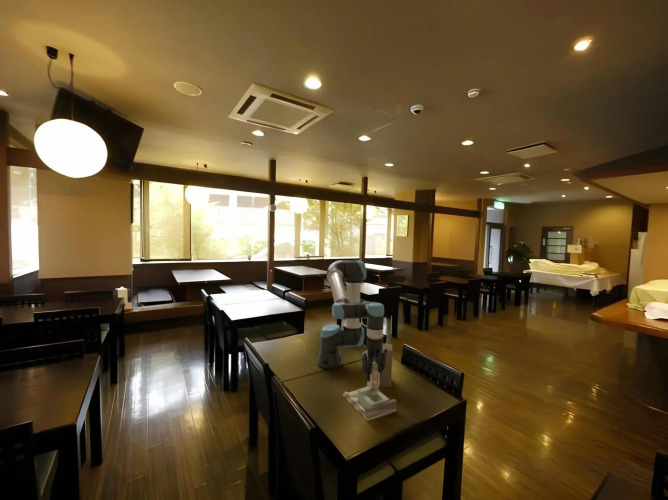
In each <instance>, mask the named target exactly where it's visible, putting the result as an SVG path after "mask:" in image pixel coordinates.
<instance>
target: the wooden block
mask: <svg viewBox="0 0 668 500" xmlns="http://www.w3.org/2000/svg"><path fill="white" fill-rule="evenodd" d="M382 347H384V348H385V349H387V353H386V359H385V369H384V370H382V371H383V372H382V373H381V378H380V380H379V387H384V388H391V387H392V374H393V372H392V371H393V370H392V369H393V344H392V343H384V342H383V346H382ZM380 355H381V353H380ZM373 362H375V357H374V360H373Z"/></svg>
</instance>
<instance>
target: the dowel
mask: <svg viewBox="0 0 668 500" xmlns="http://www.w3.org/2000/svg"><path fill="white" fill-rule="evenodd" d="M371 374H372V389H370V388H369V394H370V395H377V377H378V363H376V362H373V365H372V370H371Z"/></svg>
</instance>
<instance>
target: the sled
mask: <svg viewBox="0 0 668 500" xmlns="http://www.w3.org/2000/svg"><path fill="white" fill-rule="evenodd" d="M357 390H358V400H357V401H358V402H359V403H360V404H361V405H362V406H363V407H364V408H365V409H366V408H367V407H370V406H373V405H377V404H380V403H383V402H386V401H389V400H390V399H389V398H388V396H386V395H385V394H384V393H382V392H381V391H380V390H379V387H378V386H377V395H370V394H369V387H368V386H365V387H362V388H358V389H357Z"/></svg>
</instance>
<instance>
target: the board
mask: <svg viewBox="0 0 668 500" xmlns="http://www.w3.org/2000/svg"><path fill="white" fill-rule="evenodd" d="M342 397H343V398H344V399H345V400H346V401H347V402H348V403H349V404H350V405H351V406H352V407H353V408H354V409H355V410H356V411H357V412H358V413H359V414H360V415H361V416H362V418H364V420H366V421H367V422H369V421H372V420H375V419H377V418H381V417H384V416H387V415H389V414H392V413H394V412H397V400H396V398H393V399H389V401H386V402H383V403H380V404H377V405H373V406H370V407H367V408H366V409H365V408H364V407H363V406H362V405H361V404H360V403H359V402H358V401H357V400H358V389H355V390H352V391H350V392H347V391H344V393H343V394H342Z"/></svg>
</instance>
